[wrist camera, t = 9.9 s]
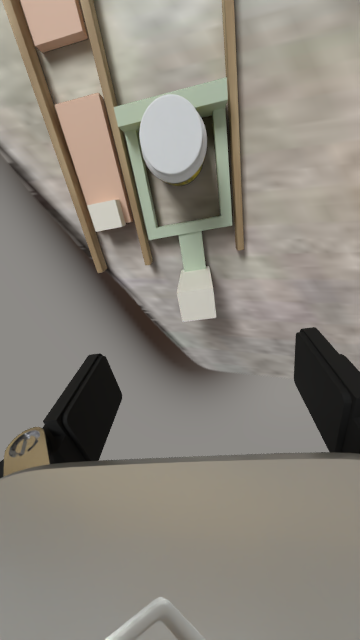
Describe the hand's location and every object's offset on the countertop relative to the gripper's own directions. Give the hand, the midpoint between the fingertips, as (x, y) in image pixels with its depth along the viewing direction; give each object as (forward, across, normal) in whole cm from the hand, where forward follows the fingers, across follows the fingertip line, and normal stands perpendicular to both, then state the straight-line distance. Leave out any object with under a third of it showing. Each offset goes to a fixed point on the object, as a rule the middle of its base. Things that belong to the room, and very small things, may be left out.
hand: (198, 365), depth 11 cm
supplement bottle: (+17, 0, -11) cm, 20 cm away
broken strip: (+17, +8, -17) cm, 25 cm away
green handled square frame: (+17, 0, -6) cm, 18 cm away
